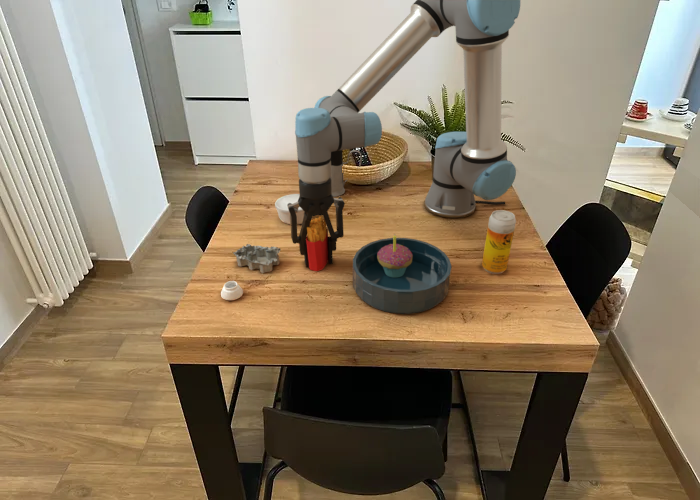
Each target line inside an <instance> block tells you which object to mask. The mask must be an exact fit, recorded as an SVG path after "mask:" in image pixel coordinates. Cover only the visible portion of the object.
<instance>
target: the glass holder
mask: <svg viewBox="0 0 700 500" xmlns="http://www.w3.org/2000/svg"><path fill="white" fill-rule="evenodd" d="M343 151H344V150H339V151H333V152H331V177H330V178H331V185H332V196H333V198H336V197H341V196H342V195H344V194H345V192H346V190H345V185H346V183H347V182H348V181H349V180H346V179H345V180H344V172H343V173H342V166H343V167H344V165H347V164H348V163H349V161H350V155H351V154H352V153H354V152H356V153H358V154H359V155H360V160H359V164H358V167H360V168H361V165H362V161H363V160H362V159H363V156H362V153H361V152H360V151H359V150H357V149H353V150H351V151H349V153H348V154H347V159H346V160H347V161H345V162H344V161H343V158H344V157H343Z"/></svg>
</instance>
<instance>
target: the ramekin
mask: <svg viewBox="0 0 700 500" xmlns="http://www.w3.org/2000/svg"><path fill="white" fill-rule="evenodd" d="M299 196H300V193H290V194H286V195H283V196H281V197H279V198H277V199H276V201H275V202H274V207H275V209H276V211H277V215H278V218H279V220H280V221H281V222H282V223H284V224H287V225H291V220H290V212H289V209H288V206H287V205H288V203H292V204H293V203H296V202H298V199H299ZM296 216H297V225H302V222H303V218H304V211H303V209H302V208H301V207H299V208H298V212H297V213H296Z"/></svg>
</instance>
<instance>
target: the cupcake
mask: <svg viewBox="0 0 700 500" xmlns="http://www.w3.org/2000/svg"><path fill="white" fill-rule="evenodd" d="M392 238H393V244H389V245H386V246H384V247H383V248H381V249H380V250H379V252H378V253H377V259H378V261H379V263H380V264H381V265H382V266H383V268H384V272H385V274H386V275H387V276H389V277H393V278H398V277H401V276H403V275H404V272H405V270H406V268H407V267H408V266H409V265H410V264H411V263H412V257H413V255H412V252H411V251H410V250H409V249H408V248H407V247H405V246H403V245H399V244H396V238H397V235H396V233H394V235H393V236H392Z"/></svg>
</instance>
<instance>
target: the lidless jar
mask: <svg viewBox="0 0 700 500" xmlns="http://www.w3.org/2000/svg"><path fill="white" fill-rule="evenodd" d="M243 294H244V289H243V288H242V287H241V286H240V284H238V282H237V281H235V280H228V281H226V282H225V283H224V284H223V287H222V289H221V291H220V297H221V298H222V299H223V300H226V301H236V300H237V299H239V298H241V297H242V296H243Z"/></svg>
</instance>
